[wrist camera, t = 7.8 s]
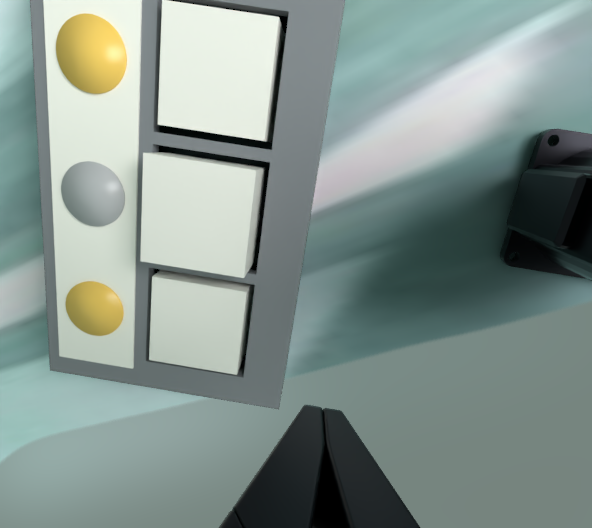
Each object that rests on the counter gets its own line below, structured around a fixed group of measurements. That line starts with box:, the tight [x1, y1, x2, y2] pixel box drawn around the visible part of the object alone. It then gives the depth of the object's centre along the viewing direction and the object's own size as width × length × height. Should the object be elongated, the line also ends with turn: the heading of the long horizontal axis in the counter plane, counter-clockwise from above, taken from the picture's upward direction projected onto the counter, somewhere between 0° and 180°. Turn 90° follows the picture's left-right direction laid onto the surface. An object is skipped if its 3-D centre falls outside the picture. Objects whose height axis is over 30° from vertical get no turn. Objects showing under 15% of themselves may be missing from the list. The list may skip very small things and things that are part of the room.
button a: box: [158, 0, 285, 143], centre depth 16 cm, size 4×4×2 cm
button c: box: [149, 270, 255, 375], centre depth 19 cm, size 4×4×2 cm
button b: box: [140, 152, 266, 278], centre depth 16 cm, size 4×4×2 cm
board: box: [30, 0, 345, 409], centre depth 18 cm, size 12×19×3 cm, turn 172°
